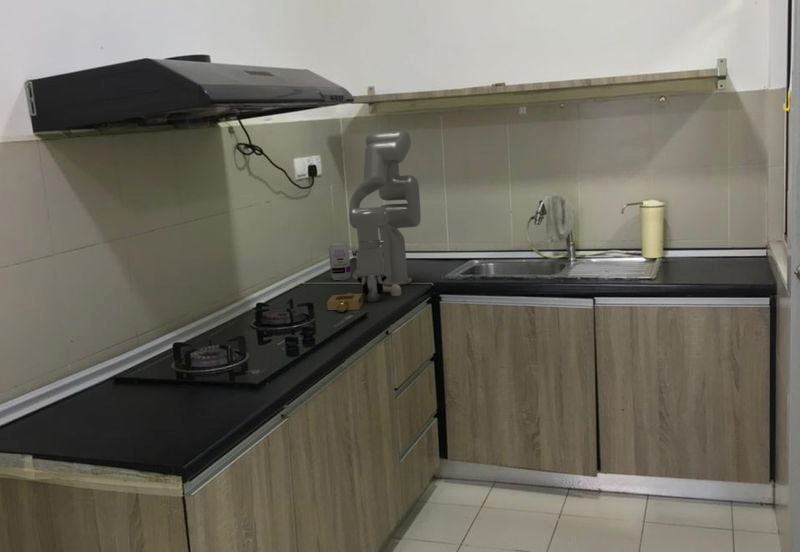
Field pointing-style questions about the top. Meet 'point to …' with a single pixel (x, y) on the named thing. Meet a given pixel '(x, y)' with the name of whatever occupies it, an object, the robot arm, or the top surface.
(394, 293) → the faucet
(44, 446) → the top surface
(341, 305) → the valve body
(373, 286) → the pipe stub
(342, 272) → the supplement can
